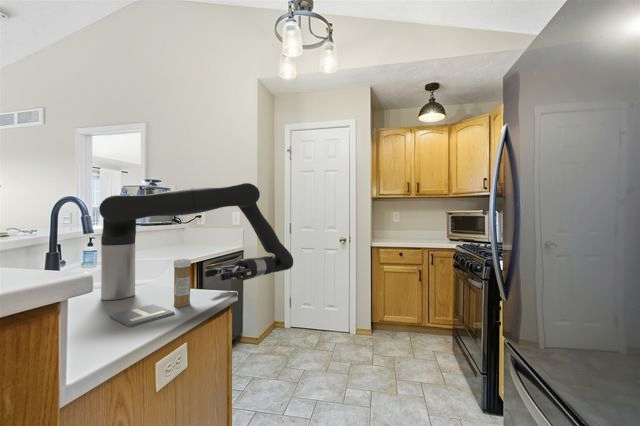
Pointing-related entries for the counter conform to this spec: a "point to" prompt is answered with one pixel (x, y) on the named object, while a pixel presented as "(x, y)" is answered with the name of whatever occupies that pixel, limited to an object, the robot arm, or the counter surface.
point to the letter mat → (141, 315)
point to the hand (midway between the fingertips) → (213, 275)
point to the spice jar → (182, 282)
